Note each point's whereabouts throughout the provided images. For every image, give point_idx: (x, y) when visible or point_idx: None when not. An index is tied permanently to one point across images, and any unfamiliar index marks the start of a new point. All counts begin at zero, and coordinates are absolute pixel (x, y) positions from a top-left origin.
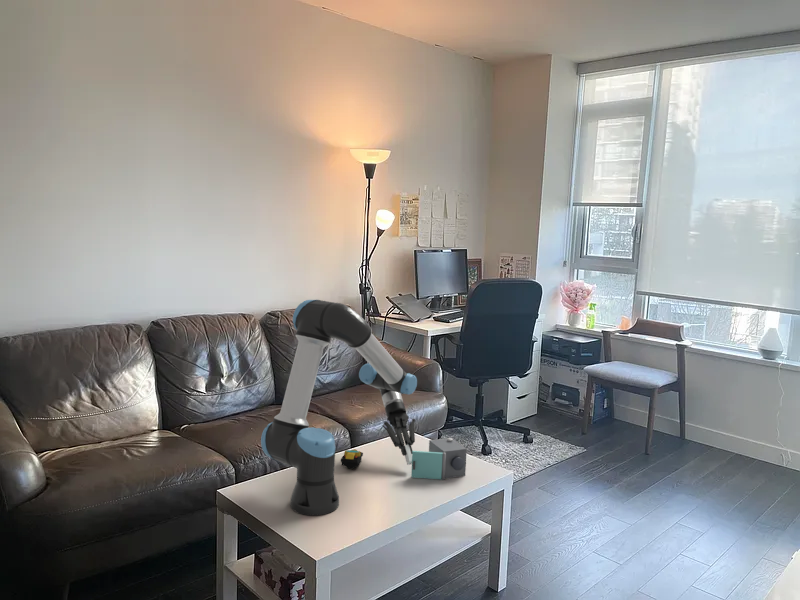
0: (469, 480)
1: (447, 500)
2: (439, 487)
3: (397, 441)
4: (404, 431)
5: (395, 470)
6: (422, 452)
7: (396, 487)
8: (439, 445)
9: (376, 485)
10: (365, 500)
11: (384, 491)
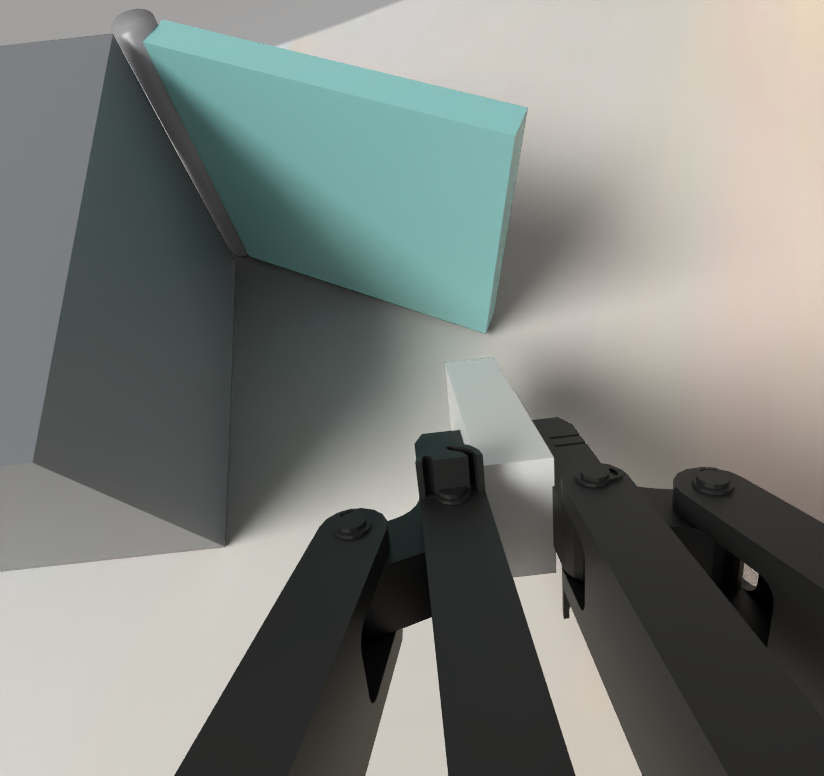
0: None
1: (363, 15)
2: None
3: (733, 496)
4: (561, 736)
5: None
6: (393, 76)
7: (653, 193)
8: (29, 212)
9: (819, 245)
10: None
11: (754, 153)
